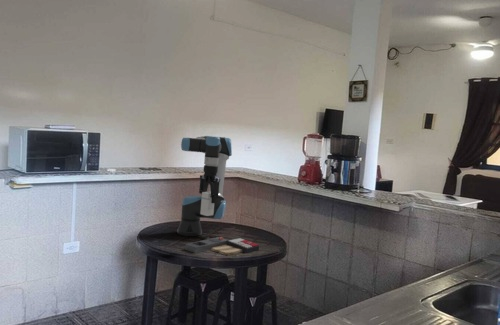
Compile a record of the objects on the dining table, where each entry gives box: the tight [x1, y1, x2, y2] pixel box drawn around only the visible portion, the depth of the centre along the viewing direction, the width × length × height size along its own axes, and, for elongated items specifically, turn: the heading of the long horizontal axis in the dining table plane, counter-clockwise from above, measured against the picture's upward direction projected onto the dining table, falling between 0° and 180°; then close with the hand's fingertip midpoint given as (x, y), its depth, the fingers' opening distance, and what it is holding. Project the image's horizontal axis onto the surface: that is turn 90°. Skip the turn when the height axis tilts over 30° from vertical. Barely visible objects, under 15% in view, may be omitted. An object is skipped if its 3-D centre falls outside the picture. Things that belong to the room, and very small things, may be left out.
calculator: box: [227, 237, 260, 254], centre depth 233 cm, size 11×4×15 cm
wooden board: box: [211, 245, 243, 256], centre depth 225 cm, size 12×12×1 cm
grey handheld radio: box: [184, 236, 229, 254], centre depth 230 cm, size 32×8×4 cm, turn 142°
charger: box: [200, 191, 214, 216], centre depth 222 cm, size 5×5×12 cm
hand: (207, 207), depth 222 cm, fingers closed on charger, 5 cm apart
